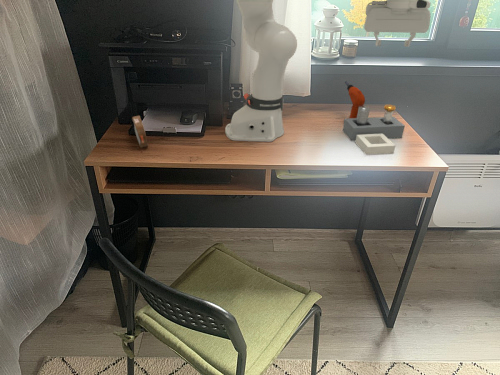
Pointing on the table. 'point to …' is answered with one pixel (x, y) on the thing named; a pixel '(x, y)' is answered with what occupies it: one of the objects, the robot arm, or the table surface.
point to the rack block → (375, 144)
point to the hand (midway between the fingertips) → (392, 46)
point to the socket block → (373, 128)
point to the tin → (140, 131)
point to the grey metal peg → (362, 115)
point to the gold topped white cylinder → (388, 113)
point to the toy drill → (355, 99)
